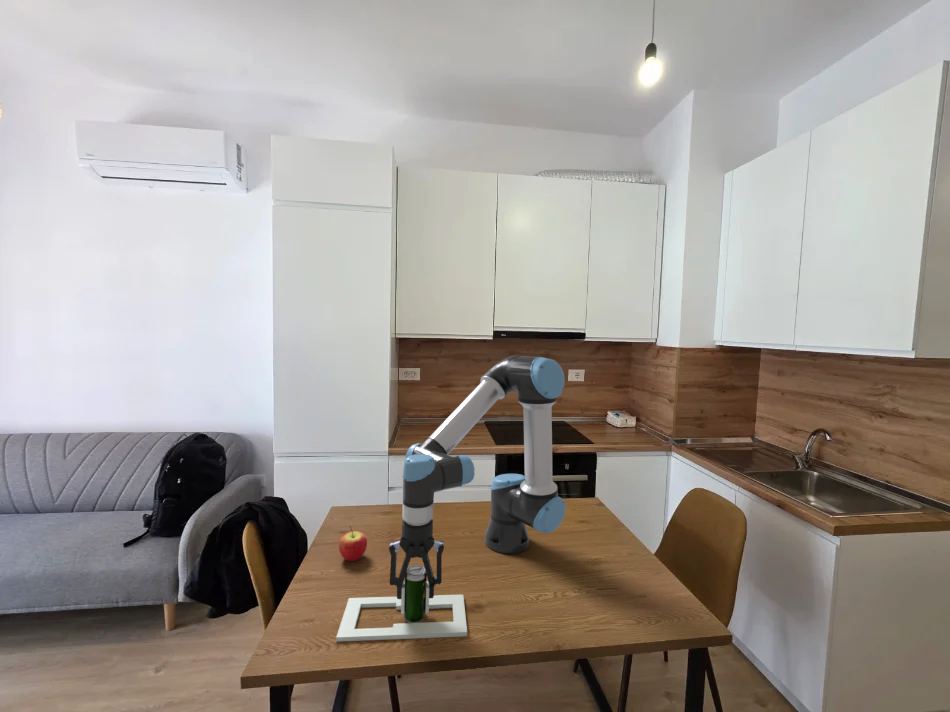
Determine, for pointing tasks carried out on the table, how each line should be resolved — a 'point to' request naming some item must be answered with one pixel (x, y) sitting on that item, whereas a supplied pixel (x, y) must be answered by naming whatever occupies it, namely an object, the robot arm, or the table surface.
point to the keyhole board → (403, 629)
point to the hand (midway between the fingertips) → (415, 609)
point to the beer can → (415, 594)
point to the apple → (352, 545)
